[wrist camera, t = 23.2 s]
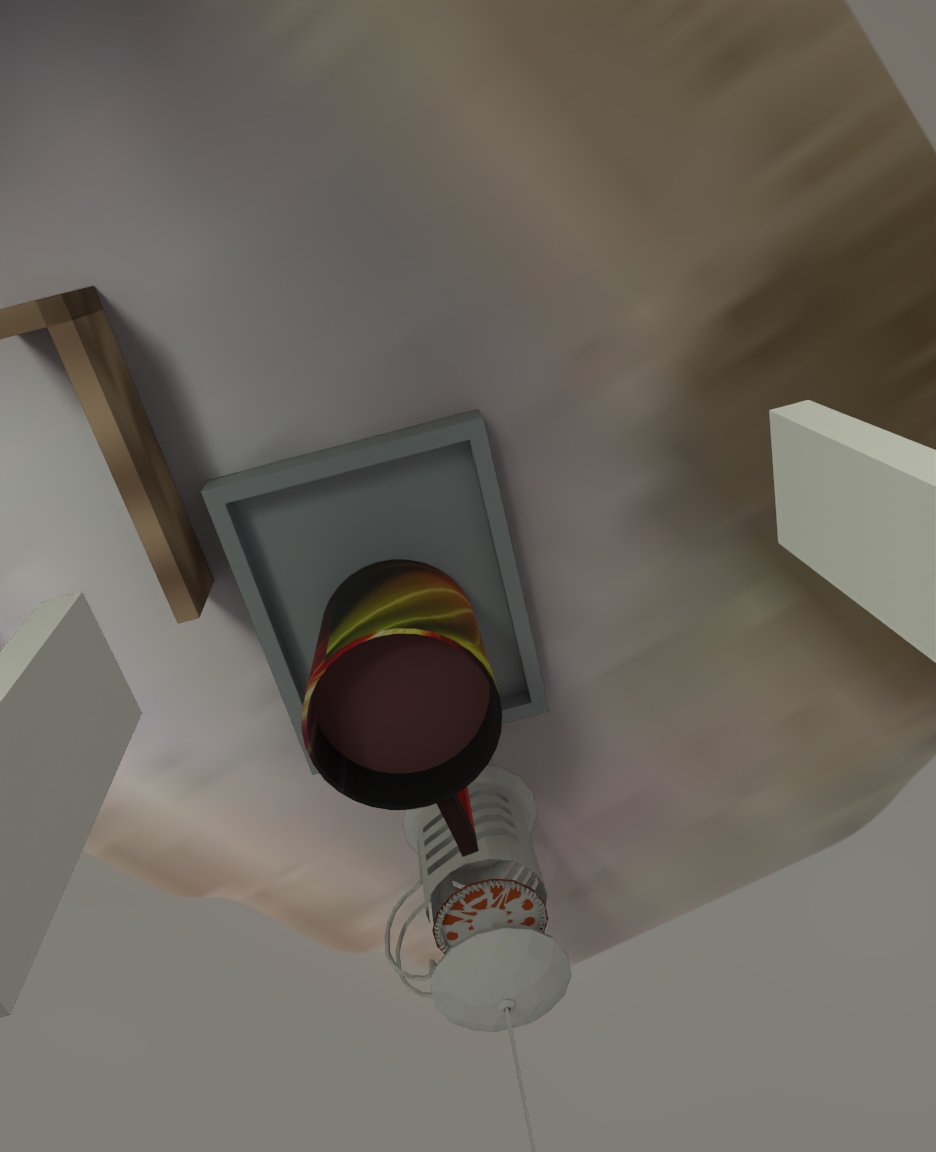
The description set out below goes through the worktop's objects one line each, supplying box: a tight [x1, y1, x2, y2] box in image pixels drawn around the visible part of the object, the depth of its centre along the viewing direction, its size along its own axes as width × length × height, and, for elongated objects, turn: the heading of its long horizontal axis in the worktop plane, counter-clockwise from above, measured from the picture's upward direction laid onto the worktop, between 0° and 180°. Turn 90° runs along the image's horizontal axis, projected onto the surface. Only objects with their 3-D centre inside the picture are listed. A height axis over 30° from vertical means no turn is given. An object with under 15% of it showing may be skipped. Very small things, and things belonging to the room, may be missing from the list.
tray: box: [201, 410, 549, 775], centre depth 49 cm, size 20×16×2 cm
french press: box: [385, 765, 571, 1152], centre depth 47 cm, size 10×12×25 cm
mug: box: [301, 559, 502, 857], centre depth 45 cm, size 10×14×12 cm
